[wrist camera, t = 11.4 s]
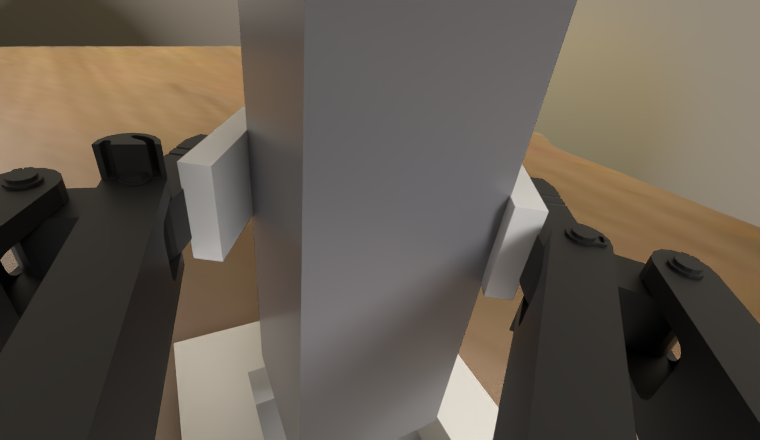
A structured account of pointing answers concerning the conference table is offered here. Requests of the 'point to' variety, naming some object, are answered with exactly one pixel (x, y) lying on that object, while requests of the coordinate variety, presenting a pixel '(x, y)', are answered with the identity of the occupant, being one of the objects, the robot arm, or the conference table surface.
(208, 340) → the socket
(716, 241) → the conference table surface
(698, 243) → the conference table surface
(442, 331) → the plug
